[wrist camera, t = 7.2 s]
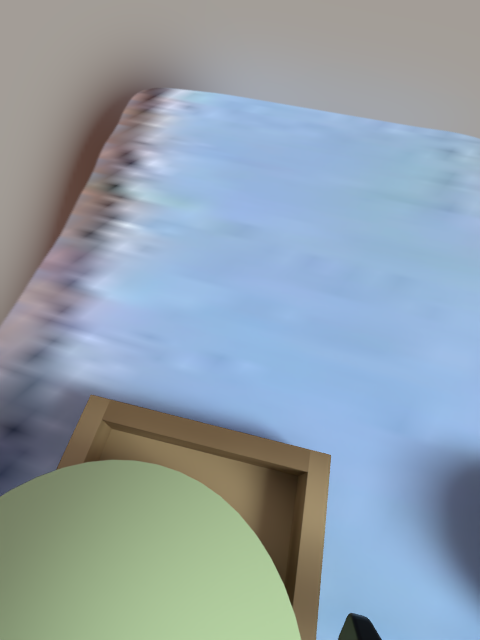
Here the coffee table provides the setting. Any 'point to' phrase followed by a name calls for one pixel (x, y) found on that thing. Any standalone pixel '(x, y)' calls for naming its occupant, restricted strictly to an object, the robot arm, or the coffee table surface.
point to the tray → (227, 483)
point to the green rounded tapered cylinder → (133, 560)
